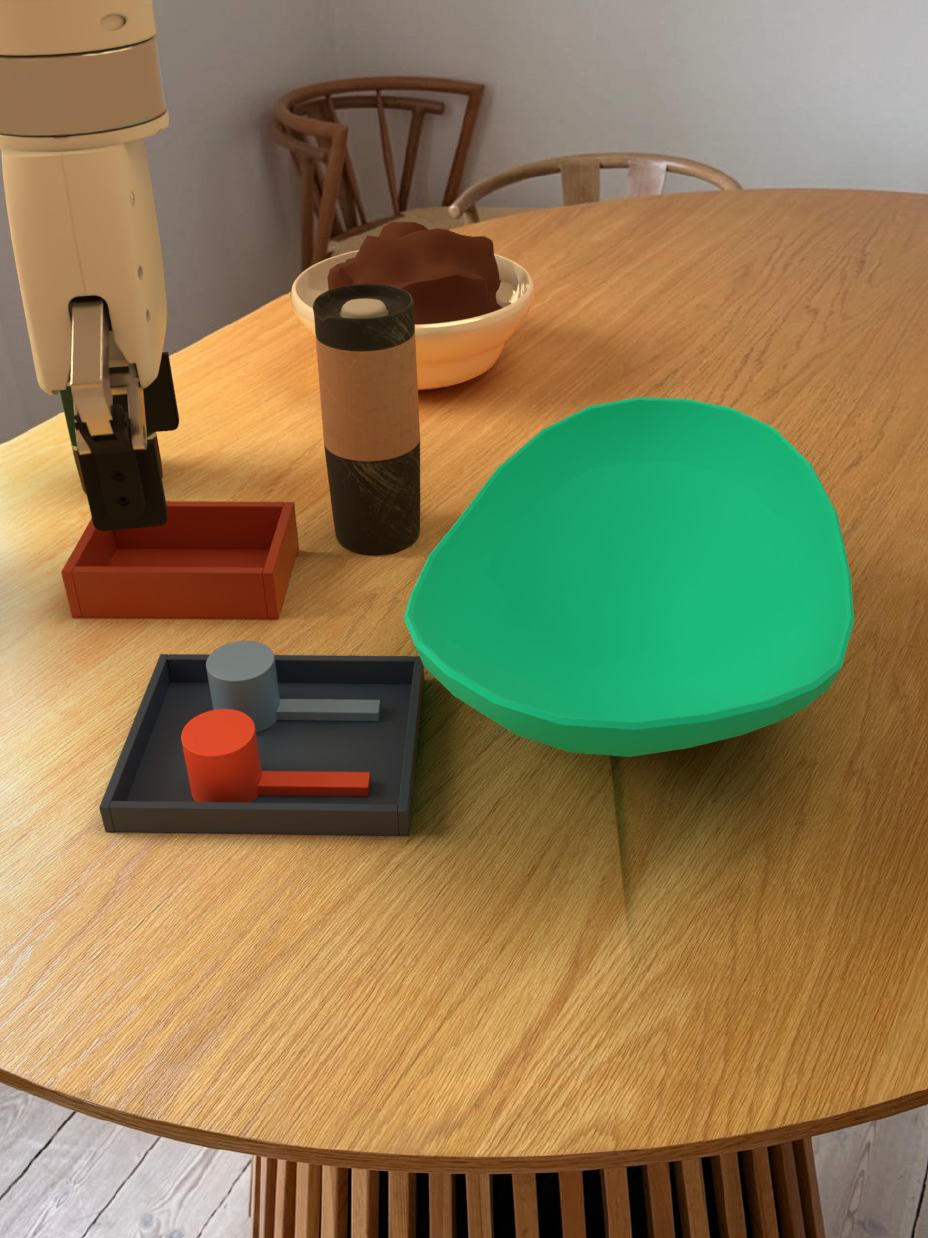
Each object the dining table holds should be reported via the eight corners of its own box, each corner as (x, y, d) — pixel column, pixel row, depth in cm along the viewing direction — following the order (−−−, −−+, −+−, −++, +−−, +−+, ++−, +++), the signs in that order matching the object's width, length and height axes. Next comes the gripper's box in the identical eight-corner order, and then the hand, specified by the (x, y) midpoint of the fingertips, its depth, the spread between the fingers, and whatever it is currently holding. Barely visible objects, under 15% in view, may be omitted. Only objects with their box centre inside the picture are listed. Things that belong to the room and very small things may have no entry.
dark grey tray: (105, 836, 73) (98, 807, 71) (165, 681, 85) (160, 653, 84) (409, 840, 72) (407, 811, 71) (424, 683, 84) (423, 655, 83)
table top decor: (508, 524, 102) (509, 377, 95) (848, 573, 95) (878, 419, 88) (324, 852, 71) (304, 673, 64) (808, 962, 64) (849, 774, 57)
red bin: (72, 622, 91) (60, 571, 89) (111, 548, 100) (101, 500, 97) (279, 623, 91) (272, 573, 88) (299, 549, 99) (294, 501, 97)
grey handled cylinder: (208, 734, 80) (199, 680, 77) (221, 693, 83) (213, 639, 81) (377, 736, 79) (373, 682, 77) (383, 694, 83) (379, 641, 80)
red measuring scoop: (184, 811, 74) (173, 755, 71) (199, 763, 77) (189, 708, 75) (366, 814, 73) (362, 757, 71) (373, 765, 77) (369, 710, 74)
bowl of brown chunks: (327, 436, 116) (314, 282, 108) (277, 342, 136) (263, 205, 127) (569, 399, 123) (575, 250, 114) (488, 314, 142) (488, 182, 134)
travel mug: (435, 516, 103) (428, 287, 92) (406, 563, 97) (395, 323, 86) (351, 505, 105) (334, 278, 94) (317, 549, 99) (295, 313, 88)
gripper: (7, 55, 55) (81, 405, 65) (-79, 148, 41) (32, 578, 50) (175, 48, 56) (224, 394, 65) (148, 137, 42) (215, 562, 51)
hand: (140, 474), depth 58 cm, fingers open, 9 cm apart
